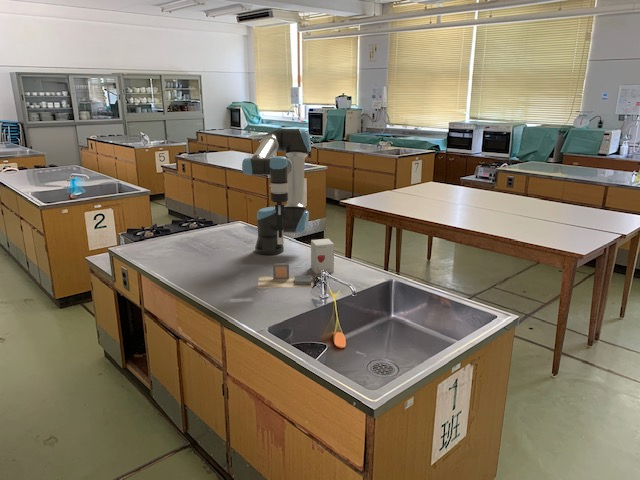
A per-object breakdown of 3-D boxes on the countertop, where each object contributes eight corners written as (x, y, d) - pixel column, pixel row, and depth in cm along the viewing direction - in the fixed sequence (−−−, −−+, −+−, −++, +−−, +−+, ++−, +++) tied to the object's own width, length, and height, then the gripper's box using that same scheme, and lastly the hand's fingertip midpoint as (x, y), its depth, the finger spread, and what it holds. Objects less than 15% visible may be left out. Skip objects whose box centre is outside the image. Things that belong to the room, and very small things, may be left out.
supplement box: (315, 276, 225) (315, 245, 220) (310, 269, 233) (310, 239, 228) (334, 274, 227) (334, 243, 222) (328, 268, 235) (328, 238, 231)
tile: (273, 278, 219) (273, 263, 217) (289, 278, 219) (288, 263, 217) (273, 279, 217) (272, 264, 215) (289, 279, 218) (288, 264, 216)
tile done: (294, 279, 218) (294, 275, 217) (310, 278, 218) (310, 275, 218) (294, 285, 211) (294, 281, 211) (311, 284, 211) (311, 281, 211)
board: (259, 279, 221) (259, 276, 221) (312, 277, 223) (312, 275, 222) (257, 291, 208) (257, 288, 208) (313, 289, 209) (313, 286, 209)
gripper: (271, 189, 221) (272, 240, 227) (270, 195, 208) (271, 248, 215) (287, 189, 221) (288, 239, 228) (287, 194, 209) (288, 247, 215)
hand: (280, 243), depth 221 cm, fingers closed
